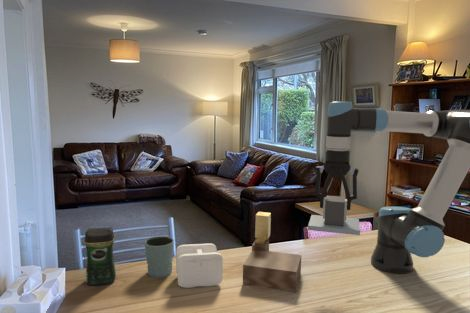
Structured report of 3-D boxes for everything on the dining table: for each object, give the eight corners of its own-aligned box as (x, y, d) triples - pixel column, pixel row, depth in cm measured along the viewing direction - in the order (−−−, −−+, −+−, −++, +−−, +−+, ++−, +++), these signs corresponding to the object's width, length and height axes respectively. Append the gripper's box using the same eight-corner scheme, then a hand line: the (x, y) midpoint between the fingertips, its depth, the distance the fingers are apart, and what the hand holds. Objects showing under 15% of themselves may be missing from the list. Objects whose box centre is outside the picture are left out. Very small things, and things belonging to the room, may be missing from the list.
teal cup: (179, 270, 139) (179, 238, 137) (162, 281, 130) (162, 247, 128) (156, 264, 143) (156, 234, 142) (139, 275, 134) (138, 242, 133)
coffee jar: (116, 274, 134) (115, 224, 132) (114, 284, 127) (113, 231, 124) (87, 276, 132) (85, 225, 130) (84, 287, 124) (82, 233, 122)
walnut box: (302, 264, 146) (303, 243, 144) (295, 292, 124) (296, 267, 123) (256, 258, 151) (256, 238, 150) (241, 284, 129) (241, 260, 128)
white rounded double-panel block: (218, 273, 137) (218, 242, 135) (222, 287, 127) (223, 253, 125) (176, 276, 134) (176, 244, 132) (177, 290, 124) (177, 256, 122)
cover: (358, 223, 130) (360, 196, 129) (359, 235, 118) (361, 205, 116) (311, 218, 134) (312, 192, 133) (307, 230, 122) (309, 201, 121)
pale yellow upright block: (270, 237, 150) (270, 212, 149) (266, 244, 142) (266, 218, 141) (257, 236, 151) (258, 211, 150) (253, 243, 144) (253, 217, 142)
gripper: (368, 149, 124) (363, 217, 127) (309, 147, 129) (306, 212, 132) (369, 152, 117) (365, 224, 120) (307, 149, 122) (304, 218, 125)
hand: (334, 218), depth 126 cm, fingers closed on cover, 6 cm apart
